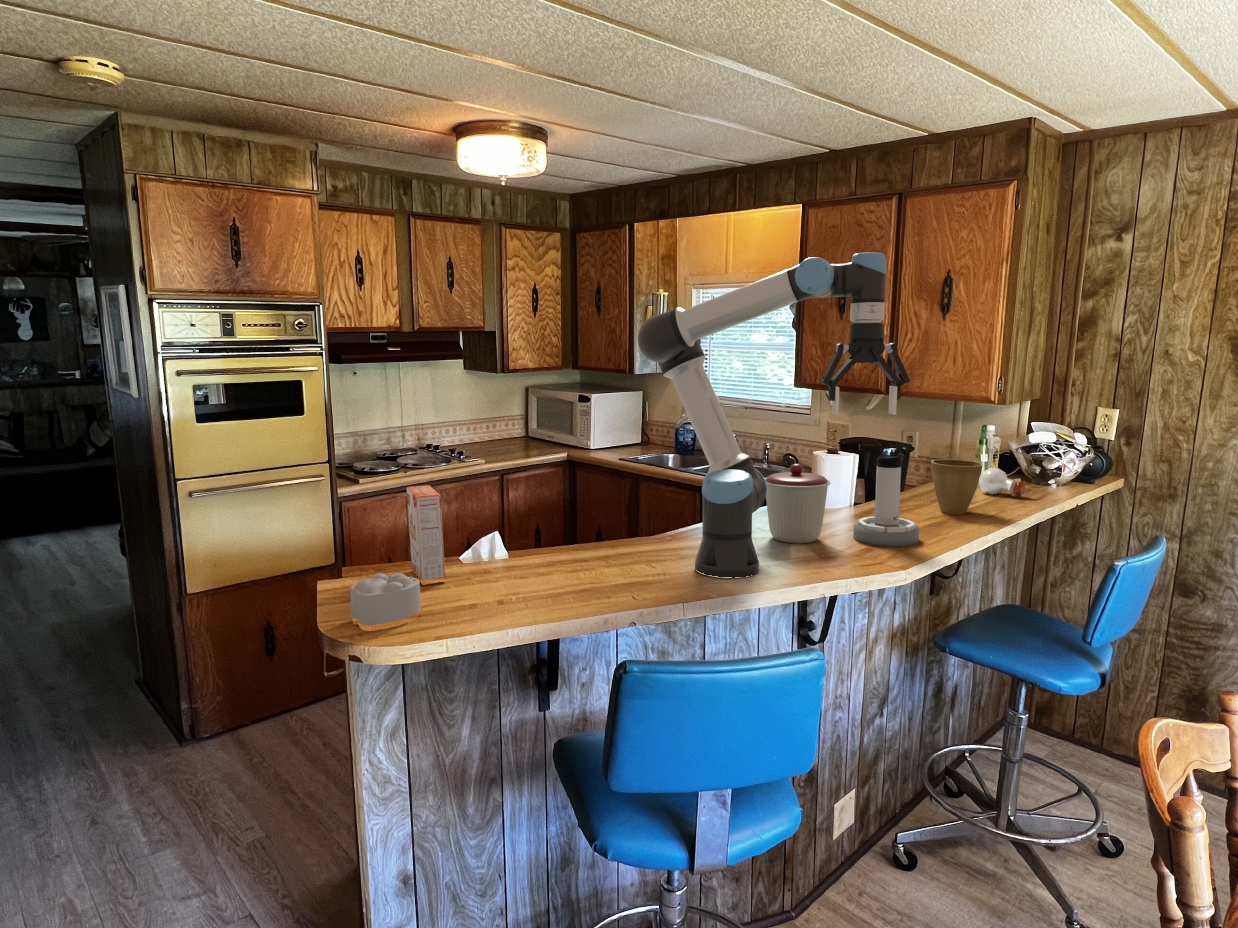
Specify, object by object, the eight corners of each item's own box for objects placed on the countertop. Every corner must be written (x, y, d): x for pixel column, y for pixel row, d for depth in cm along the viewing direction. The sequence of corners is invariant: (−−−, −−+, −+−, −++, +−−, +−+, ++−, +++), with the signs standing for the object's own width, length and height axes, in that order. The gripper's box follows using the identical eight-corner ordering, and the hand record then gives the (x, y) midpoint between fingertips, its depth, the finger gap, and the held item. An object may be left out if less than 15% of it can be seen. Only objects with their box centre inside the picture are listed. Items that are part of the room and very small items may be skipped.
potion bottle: (979, 495, 279) (1019, 506, 267) (969, 482, 273) (1009, 493, 261) (991, 473, 280) (1032, 484, 268) (981, 460, 275) (1022, 470, 262)
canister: (750, 534, 218) (751, 461, 215) (806, 529, 224) (807, 457, 221) (782, 550, 201) (784, 470, 198) (842, 543, 207) (844, 466, 204)
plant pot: (949, 518, 236) (951, 466, 233) (919, 508, 250) (921, 460, 248) (990, 515, 239) (993, 464, 237) (959, 506, 254) (961, 458, 251)
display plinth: (866, 547, 203) (867, 529, 202) (844, 532, 219) (845, 516, 219) (929, 545, 203) (930, 528, 203) (903, 530, 220) (903, 514, 220)
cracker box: (410, 571, 186) (405, 486, 183) (435, 568, 189) (431, 484, 186) (419, 586, 174) (414, 496, 171) (446, 583, 176) (441, 493, 173)
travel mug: (901, 529, 207) (904, 456, 204) (876, 528, 208) (878, 455, 206) (898, 524, 213) (900, 452, 210) (873, 523, 215) (875, 452, 212)
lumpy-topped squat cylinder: (347, 619, 153) (344, 577, 152) (409, 605, 161) (407, 565, 160) (366, 634, 145) (363, 590, 144) (430, 618, 153) (428, 576, 152)
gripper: (818, 322, 172) (815, 416, 175) (927, 321, 173) (923, 415, 176) (808, 323, 180) (806, 414, 183) (913, 322, 181) (909, 412, 184)
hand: (863, 414), depth 180 cm, fingers open, 13 cm apart
